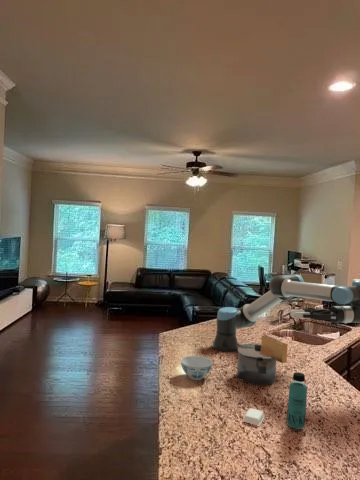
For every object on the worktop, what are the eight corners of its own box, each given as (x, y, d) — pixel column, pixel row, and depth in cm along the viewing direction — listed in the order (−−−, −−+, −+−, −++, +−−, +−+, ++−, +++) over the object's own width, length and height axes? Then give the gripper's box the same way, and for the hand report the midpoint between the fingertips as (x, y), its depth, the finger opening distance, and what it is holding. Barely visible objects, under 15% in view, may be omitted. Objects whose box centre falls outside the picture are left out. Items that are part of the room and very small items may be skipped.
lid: (230, 347, 188) (231, 329, 188) (261, 344, 197) (262, 326, 196) (266, 368, 163) (267, 346, 162) (300, 363, 171) (302, 342, 171)
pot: (235, 366, 198) (236, 343, 198) (271, 368, 197) (272, 345, 196) (240, 392, 166) (241, 365, 166) (282, 395, 165) (284, 368, 164)
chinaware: (215, 374, 185) (215, 358, 185) (207, 386, 171) (207, 369, 171) (185, 369, 190) (186, 354, 190) (175, 380, 176) (176, 363, 176)
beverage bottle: (283, 423, 141) (286, 370, 140) (301, 423, 141) (304, 370, 140) (290, 433, 134) (293, 377, 133) (308, 433, 135) (311, 377, 134)
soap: (248, 413, 148) (248, 405, 148) (265, 417, 145) (266, 410, 145) (241, 423, 140) (241, 415, 140) (259, 428, 137) (260, 420, 137)
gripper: (351, 327, 167) (302, 327, 163) (329, 318, 184) (284, 317, 180) (352, 310, 167) (303, 309, 163) (330, 302, 184) (285, 301, 180)
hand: (293, 314), depth 171 cm, fingers open, 4 cm apart
